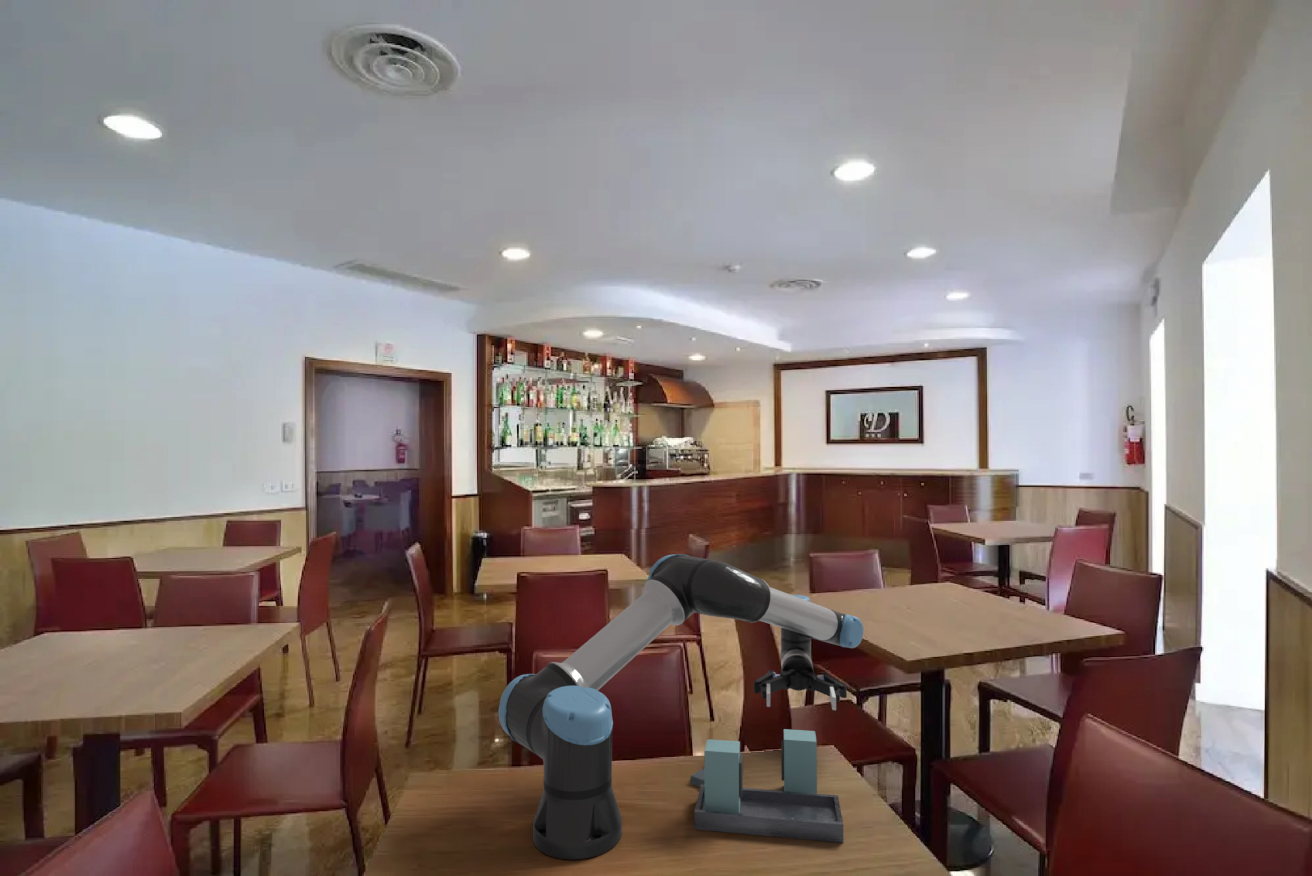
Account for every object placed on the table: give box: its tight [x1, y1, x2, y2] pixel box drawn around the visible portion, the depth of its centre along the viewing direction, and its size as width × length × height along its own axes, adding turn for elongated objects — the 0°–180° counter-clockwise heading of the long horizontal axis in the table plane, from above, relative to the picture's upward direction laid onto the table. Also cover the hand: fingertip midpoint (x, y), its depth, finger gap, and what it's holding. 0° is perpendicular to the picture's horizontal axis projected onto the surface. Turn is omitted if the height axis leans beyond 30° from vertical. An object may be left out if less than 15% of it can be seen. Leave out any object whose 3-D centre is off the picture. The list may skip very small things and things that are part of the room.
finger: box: [780, 728, 818, 794], centre depth 131 cm, size 6×5×11 cm
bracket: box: [690, 767, 705, 788], centre depth 138 cm, size 4×10×2 cm, turn 140°
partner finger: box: [703, 738, 744, 813], centre depth 123 cm, size 6×5×11 cm
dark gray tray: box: [694, 784, 844, 844], centre depth 121 cm, size 25×10×3 cm, turn 80°
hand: (801, 702), depth 144 cm, fingers open, 13 cm apart
